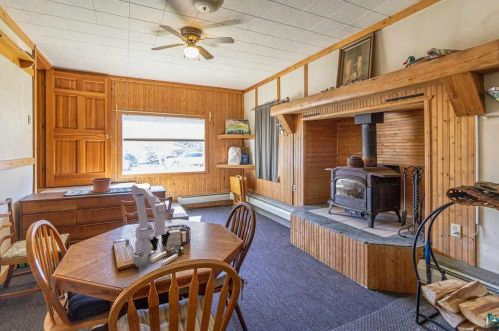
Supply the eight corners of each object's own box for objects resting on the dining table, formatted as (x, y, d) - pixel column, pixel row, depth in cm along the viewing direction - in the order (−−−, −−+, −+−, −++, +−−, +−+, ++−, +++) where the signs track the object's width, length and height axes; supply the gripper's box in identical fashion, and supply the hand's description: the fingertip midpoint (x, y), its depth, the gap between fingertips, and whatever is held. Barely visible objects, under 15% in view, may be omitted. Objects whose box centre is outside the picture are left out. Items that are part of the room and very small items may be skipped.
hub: (134, 266, 147) (133, 255, 146) (141, 262, 151) (140, 252, 151) (140, 268, 145) (140, 257, 144) (147, 264, 149) (147, 253, 149)
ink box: (179, 245, 177) (179, 228, 176) (181, 248, 172) (180, 231, 171) (166, 248, 173) (166, 230, 172) (167, 250, 168) (167, 233, 167)
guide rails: (150, 262, 152) (150, 259, 152) (164, 254, 163) (164, 251, 163) (163, 265, 148) (163, 262, 148) (177, 257, 159) (177, 254, 159)
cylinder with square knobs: (167, 255, 162) (167, 248, 162) (176, 250, 169) (176, 243, 169) (175, 256, 160) (174, 249, 159) (183, 251, 167) (183, 245, 167)
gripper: (155, 229, 140) (156, 253, 141) (173, 221, 153) (173, 244, 155) (145, 227, 143) (146, 251, 144) (164, 220, 156) (164, 242, 157)
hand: (160, 247), depth 150 cm, fingers open, 7 cm apart
